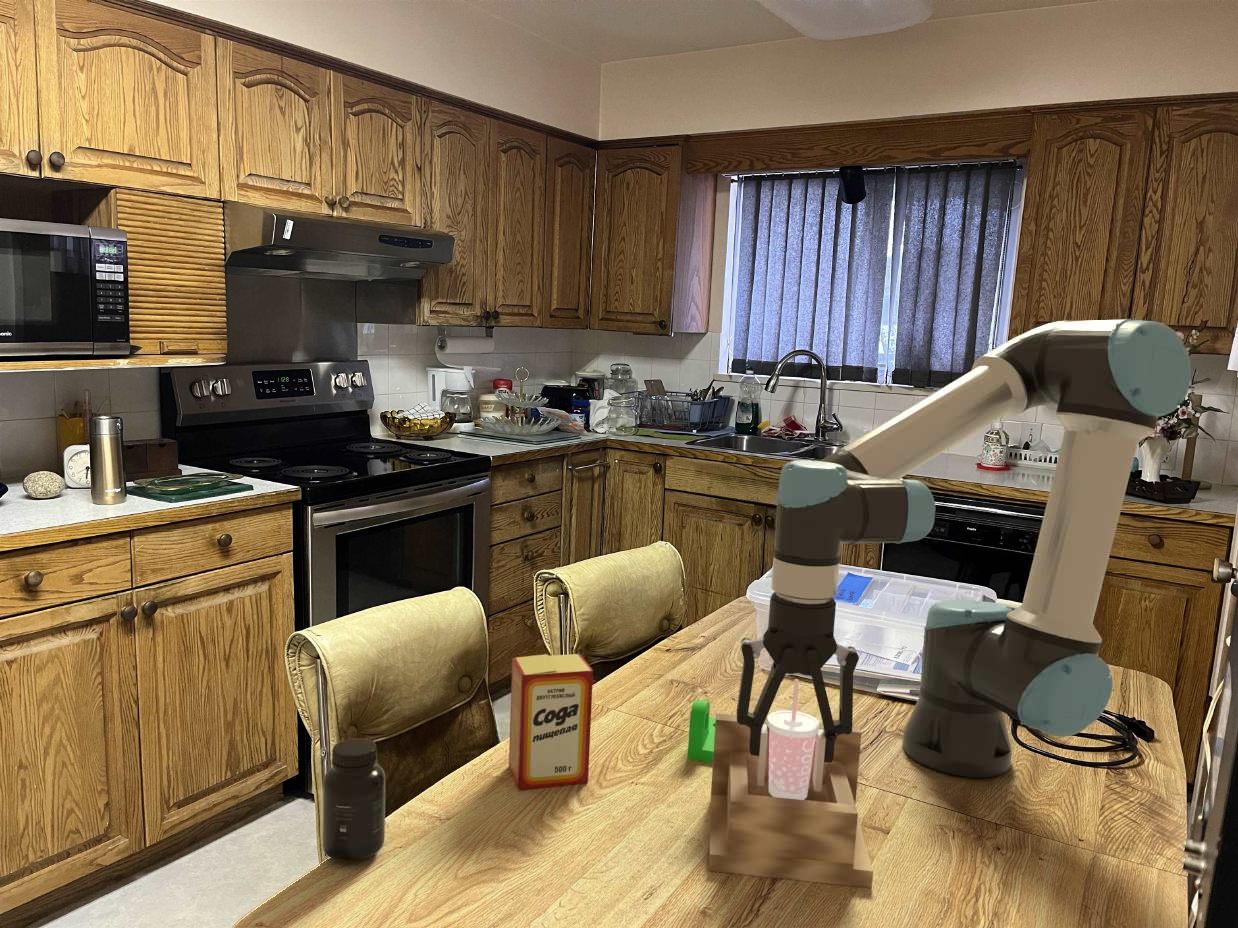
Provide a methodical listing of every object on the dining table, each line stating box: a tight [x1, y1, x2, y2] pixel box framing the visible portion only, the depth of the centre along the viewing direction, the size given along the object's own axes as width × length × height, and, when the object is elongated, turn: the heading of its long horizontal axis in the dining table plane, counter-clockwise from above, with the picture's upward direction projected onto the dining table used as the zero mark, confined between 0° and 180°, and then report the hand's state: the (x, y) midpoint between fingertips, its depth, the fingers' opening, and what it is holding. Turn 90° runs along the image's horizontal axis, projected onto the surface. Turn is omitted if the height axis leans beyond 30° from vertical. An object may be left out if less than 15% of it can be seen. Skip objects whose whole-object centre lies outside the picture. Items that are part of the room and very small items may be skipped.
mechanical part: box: [687, 698, 716, 763], centre depth 136 cm, size 12×6×8 cm, turn 165°
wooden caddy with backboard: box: [708, 712, 874, 889], centre depth 110 cm, size 18×16×12 cm
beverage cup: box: [767, 678, 820, 800], centre depth 109 cm, size 6×6×14 cm
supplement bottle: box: [321, 737, 386, 863], centre depth 104 cm, size 7×7×12 cm
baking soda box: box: [508, 653, 594, 791], centre depth 124 cm, size 10×6×16 cm
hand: (788, 782), depth 110 cm, fingers closed on beverage cup, 6 cm apart
